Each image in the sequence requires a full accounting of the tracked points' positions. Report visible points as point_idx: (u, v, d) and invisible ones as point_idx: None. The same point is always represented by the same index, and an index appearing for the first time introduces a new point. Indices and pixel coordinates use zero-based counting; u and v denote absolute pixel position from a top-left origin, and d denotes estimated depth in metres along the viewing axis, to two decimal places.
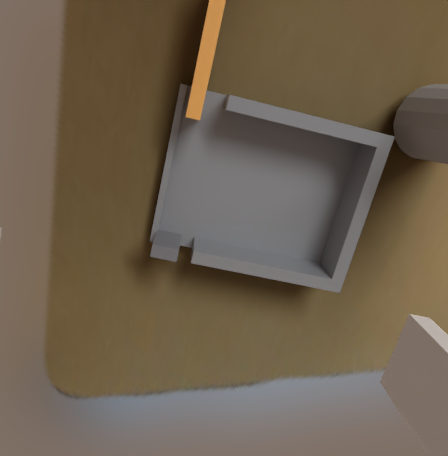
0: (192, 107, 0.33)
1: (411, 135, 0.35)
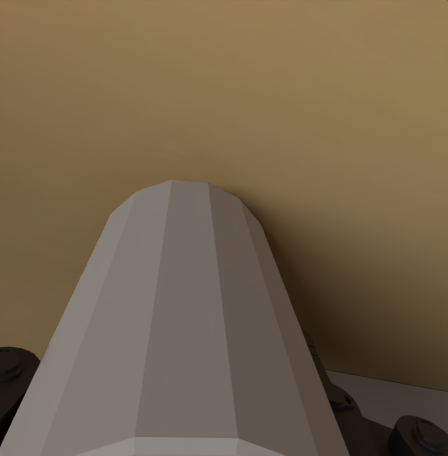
0: None
1: None
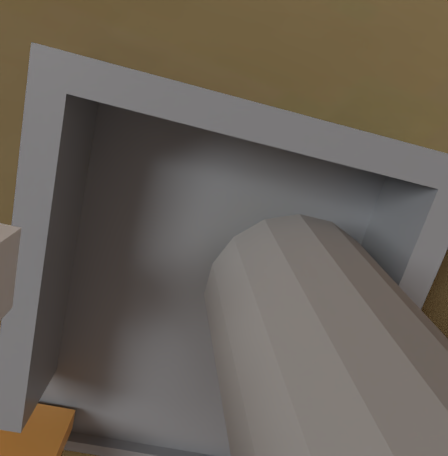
0: None
1: None
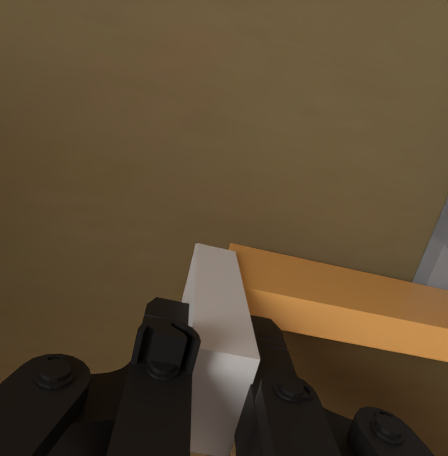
0: None
1: None
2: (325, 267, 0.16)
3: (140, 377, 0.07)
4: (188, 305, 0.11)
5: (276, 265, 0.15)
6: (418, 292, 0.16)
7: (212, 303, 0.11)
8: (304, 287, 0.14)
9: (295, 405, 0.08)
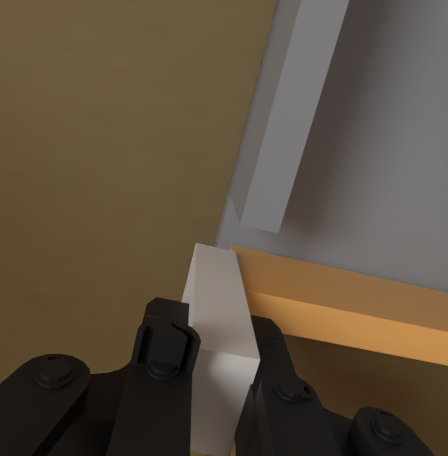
0: None
1: None
2: (327, 269, 0.16)
3: (140, 377, 0.07)
4: (188, 305, 0.11)
5: (277, 267, 0.15)
6: (420, 295, 0.16)
7: (212, 303, 0.11)
8: (305, 290, 0.14)
9: (295, 405, 0.08)
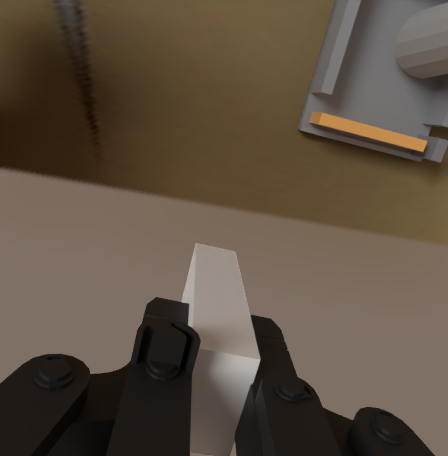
0: (417, 146, 0.43)
1: None
2: None
3: (140, 377, 0.07)
4: (188, 305, 0.11)
5: None
6: None
7: (212, 303, 0.11)
8: None
9: (295, 405, 0.08)
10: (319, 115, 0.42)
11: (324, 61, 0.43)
